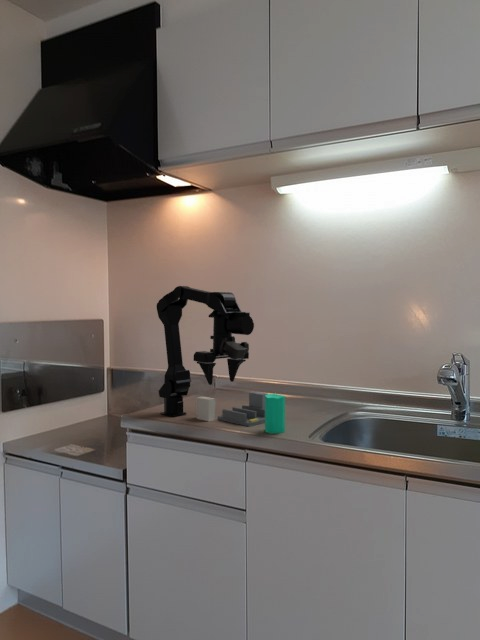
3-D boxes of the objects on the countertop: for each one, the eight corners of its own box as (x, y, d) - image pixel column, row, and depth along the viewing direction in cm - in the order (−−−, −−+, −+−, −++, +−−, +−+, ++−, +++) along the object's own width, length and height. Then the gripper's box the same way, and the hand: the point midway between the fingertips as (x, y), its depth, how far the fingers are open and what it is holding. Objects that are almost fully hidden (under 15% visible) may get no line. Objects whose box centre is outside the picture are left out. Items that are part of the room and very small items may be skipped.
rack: (217, 419, 162) (217, 394, 162) (248, 412, 173) (249, 389, 172) (249, 426, 152) (249, 400, 152) (280, 418, 163) (280, 394, 163)
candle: (262, 429, 149) (262, 389, 149) (281, 428, 151) (281, 388, 150) (267, 434, 143) (268, 392, 143) (287, 432, 145) (288, 391, 144)
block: (196, 418, 163) (196, 397, 163) (202, 417, 165) (202, 396, 165) (208, 421, 159) (208, 399, 159) (215, 420, 161) (215, 398, 161)
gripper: (218, 335, 141) (217, 390, 142) (262, 333, 154) (260, 383, 155) (192, 333, 149) (191, 384, 149) (236, 331, 162) (235, 378, 163)
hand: (221, 383), depth 154 cm, fingers open, 9 cm apart
